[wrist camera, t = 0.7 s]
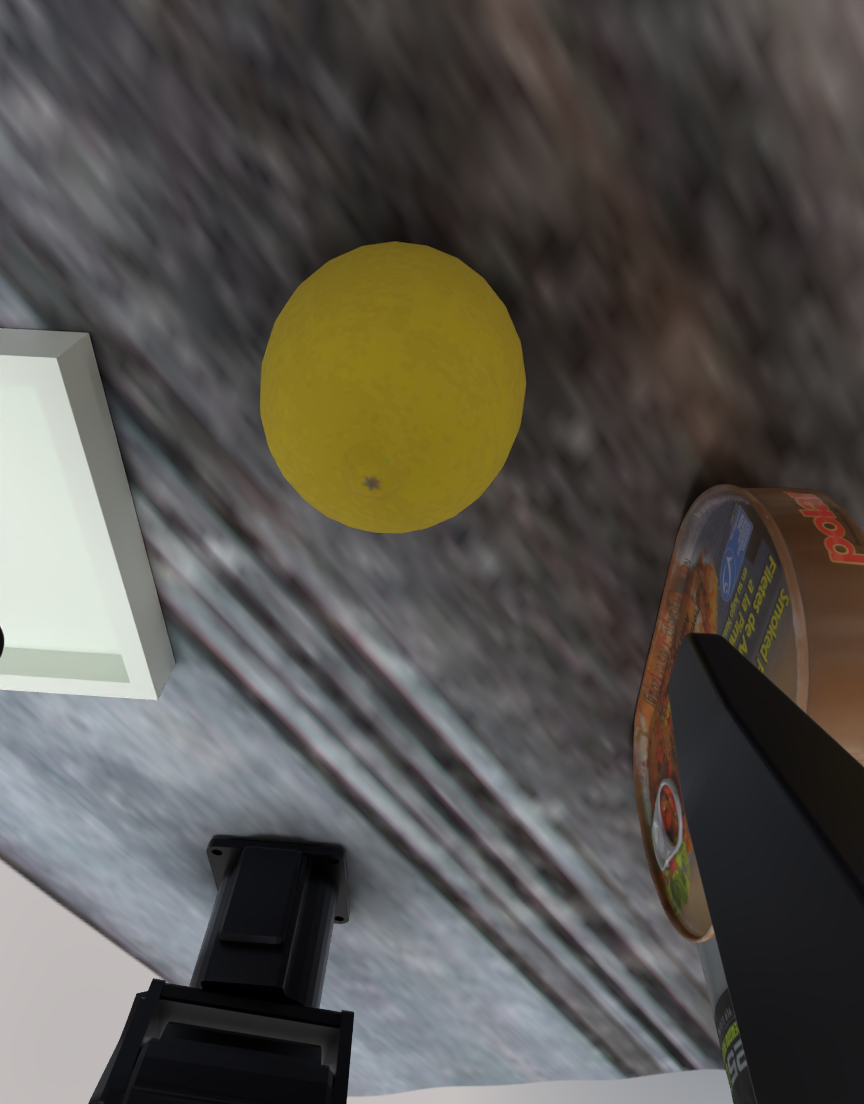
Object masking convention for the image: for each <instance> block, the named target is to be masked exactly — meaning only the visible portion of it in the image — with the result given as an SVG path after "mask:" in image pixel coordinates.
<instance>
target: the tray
mask: <svg viewBox="0 0 864 1104" xmlns="http://www.w3.org/2000/svg"><path fill="white" fill-rule="evenodd" d="M0 626H1V629H2V631H3V634H4V649H3V652H2V655H1V657H0V689H1V690H15V691H30V692H45V693H60V694H74V695H89V696H104V697H119V698H133V699H148V700H158V699H159V697H160V695H161V692H162V690H163V688H164V686H165V684H166V682H167V680H168V678H169V676H170V674H171V672H172V670H173V668H174V666H175V660H174V656H173V652H172V648H171V645H170V641H169V637H168V633H167V629H166V625H165V622H164V618H163V614H162V610H161V606H160V603H159V599H158V595H157V591H156V587H155V584H154V580H153V576H152V572H151V568H150V565H149V561H148V557H147V553H146V549H145V545H144V542H143V538H142V534H141V530H140V526H139V523H138V519H137V515H136V511H135V507H134V504H133V500H132V496H131V492H130V488H129V485H128V481H127V477H126V473H125V469H124V465H123V462H122V458H121V454H120V450H119V446H118V443H117V439H116V435H115V431H114V427H113V424H112V420H111V416H110V412H109V408H108V404H107V401H106V397H105V393H104V389H103V385H102V382H101V378H100V374H99V370H98V366H97V363H96V359H95V355H94V351H93V347H92V344H91V340H90V336H89V333H84V332H65V331H46V330H27V329H8V328H0Z"/></svg>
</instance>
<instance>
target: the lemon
mask: <svg viewBox="0 0 864 1104" xmlns="http://www.w3.org/2000/svg"><path fill="white" fill-rule="evenodd" d="M525 390H526V375H525V368H524V361H523V354H522V347H521V342H520V339H519V337H518V334H517V332H516V330H515V327H514V325H513V323H512V320H511V318H510V316H509V313H508V311H507V309H506V306H505V305H504V304H503V302H502V301H501V300H500V299H499V297H498V296H497V295H496V293H495V292H494V291H493V289H492V288H491V287H490V286H489V284H488V283H487V282H486V280H485V279H484V278H483V277H482V276H480V275H479V274H478V273H476V272H475V271H474V270H472V269H471V268H470V267H469V266H467V265H466V264H465V263H463V262H462V261H461V260H459V259H458V258H456V257H454V256H451V255H449V254H446V253H444V252H441V251H439V250H437V249H434V248H432V247H429V246H426V245H418V244H411V243H404V242H396V241H394V242H387V243H380V244H372V245H365V246H361V247H359V248H356V249H354V250H352V251H350V252H347V253H345V254H343V255H341V256H338V257H336V258H334V259H331V260H329V261H328V262H327V263H325V264H324V265H323V266H322V267H321V268H319V269H318V270H317V271H316V272H315V273H313V274H312V275H311V276H310V277H308V278H307V279H306V280H305V281H304V282H302V283H301V284H300V285H299V286H298V288H297V289H296V290H295V292H294V293H293V295H292V296H291V298H290V299H289V301H288V302H287V304H286V305H285V307H284V308H283V310H282V311H281V313H280V314H279V315H278V317H277V319H276V321H275V323H274V326H273V329H272V332H271V335H270V339H269V342H268V345H267V348H266V351H265V355H264V358H263V361H262V367H261V391H260V412H261V419H262V423H263V427H264V431H265V435H266V439H267V444H268V447H269V449H270V452H271V454H272V456H273V458H274V459H275V461H276V463H277V465H278V467H279V469H280V471H281V472H282V474H283V476H284V477H285V478H286V480H287V481H288V482H289V483H290V484H291V485H292V487H293V488H294V489H295V490H296V491H297V492H298V493H299V495H300V496H301V497H302V498H303V499H304V500H305V501H306V502H308V503H309V504H310V505H312V506H313V507H314V508H316V509H317V510H318V511H320V512H321V513H322V514H324V515H325V516H327V517H329V518H331V519H333V520H336V521H338V522H340V523H342V524H345V525H347V526H349V527H352V528H357V529H361V530H365V531H370V532H374V533H405V532H410V531H416V530H421V529H426V528H429V527H431V526H434V525H436V524H438V523H440V522H443V521H445V520H447V519H450V518H452V517H454V516H456V515H457V514H458V513H460V512H461V511H462V510H464V509H465V508H466V507H468V506H469V505H470V504H472V503H473V502H474V501H476V500H477V499H478V498H479V497H480V496H481V495H482V494H483V493H484V491H485V490H486V489H487V487H488V486H489V485H490V484H491V482H492V481H493V480H494V479H495V477H496V476H497V475H498V473H499V472H500V470H501V469H502V467H503V466H504V464H505V461H506V459H507V457H508V455H509V452H510V450H511V448H512V445H513V443H514V441H515V438H516V436H517V433H518V431H519V428H520V425H521V419H522V412H523V405H524V398H525Z"/></svg>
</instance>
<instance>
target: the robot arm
mask: <svg viewBox="0 0 864 1104" xmlns="http://www.w3.org/2000/svg"><path fill="white" fill-rule="evenodd" d="M3 649H4V634H3V631H2V629H1V626H0V657H1V655H2V652H3ZM669 702H670V709H671V717H672V725H673V733H674V741H675V749H676V757H677V765H678V773H679V781H680V788H681V795H682V802H683V807H684V812H685V817H686V821H687V826H688V830H689V834H690V838H691V842H692V846H693V850H694V854H695V858H696V862H697V866H698V870H699V874H700V878H701V882H702V886H703V890H704V894H705V898H706V902H707V906H708V910H709V914H710V918H711V922H712V926H713V930H714V934H715V938H716V942H717V946H718V950H719V954H720V958H721V962H722V966H723V970H724V974H725V978H726V982H727V986H728V990H729V994H730V998H731V1002H732V1006H733V1010H734V1014H735V1018H736V1022H737V1026H738V1030H739V1034H740V1038H741V1043H742V1047H743V1051H744V1055H745V1059H746V1063H747V1067H748V1071H749V1075H750V1079H751V1083H752V1087H753V1091H754V1095H755V1099H756V1103H757V1104H864V766H863V765H862V764H861V763H859V762H858V761H857V760H856V759H855V758H854V757H853V756H852V755H851V754H850V753H849V752H848V751H846V750H845V749H844V748H843V747H842V746H841V745H840V744H839V743H838V742H837V741H836V740H835V739H833V738H832V737H831V736H830V735H829V734H828V733H827V732H826V731H825V730H824V729H823V728H822V727H821V726H819V725H818V724H817V723H816V722H815V721H814V720H813V719H812V718H811V717H810V716H809V715H808V714H806V713H805V712H804V711H803V710H802V709H801V708H800V707H799V706H798V705H797V704H796V703H795V702H793V701H792V700H791V699H790V698H789V697H788V696H787V695H786V694H785V693H784V692H783V691H782V690H780V689H779V688H778V687H777V686H776V685H775V684H774V683H773V682H772V681H771V680H770V679H769V678H767V677H766V676H765V675H764V674H763V673H762V672H761V671H760V670H759V669H758V668H757V667H756V666H754V665H753V664H752V663H751V662H750V661H749V660H748V659H747V658H746V657H745V656H744V655H743V654H741V653H740V652H739V651H738V650H737V649H736V648H735V647H734V646H733V645H732V644H731V643H730V642H729V641H727V640H726V639H725V638H724V637H723V636H721V635H719V634H713V633H697V632H690V633H688V634H686V635H685V637H684V638H683V640H682V642H681V645H680V648H679V651H678V654H677V657H676V660H675V663H674V666H673V669H672V672H671V675H670V680H669ZM207 855H208V858H209V862H210V865H211V868H212V872H213V875H214V879H215V882H216V886H217V889H218V894H217V897H216V901H215V904H214V907H213V910H212V914H211V917H210V920H209V923H208V927H207V930H206V933H205V937H204V940H203V943H202V946H201V950H200V953H199V956H198V959H197V963H196V966H195V969H194V972H193V976H192V979H191V982H190V985H189V987H187V986H181V985H175V984H169V983H166V980H160V979H154V978H153V980H152V982H151V985H150V987H149V990H148V991H146V992H141V993H137V994H136V997H135V999H134V1002H133V1005H132V1008H131V1011H130V1013H129V1016H128V1019H127V1022H126V1024H125V1027H124V1030H123V1032H122V1035H121V1037H120V1040H119V1042H118V1044H117V1046H116V1048H115V1050H114V1052H113V1054H112V1056H111V1058H110V1060H109V1062H108V1064H107V1067H106V1068H105V1070H104V1073H103V1074H102V1077H101V1079H100V1081H99V1083H98V1085H97V1087H96V1089H95V1091H94V1093H93V1095H92V1097H91V1099H90V1101H89V1104H346V1101H347V1090H348V1079H349V1067H350V1056H351V1044H352V1032H353V1021H354V1012H352V1011H346V1010H342V1011H341V1012H337V1011H331V1010H325V1009H319V1007H320V1001H321V995H322V989H323V983H324V977H325V971H326V965H327V960H328V954H329V948H330V942H331V936H332V930H333V924H334V923H339V924H343V923H347V922H348V920H349V915H350V905H349V892H348V879H347V866H346V854H345V851H343V850H342V849H340V848H336V847H325V846H311V845H298V844H284V843H270V842H257V841H243V840H230V839H212V840H211V841H210V842H209V844H208V847H207Z"/></svg>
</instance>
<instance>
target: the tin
mask: <svg viewBox="0 0 864 1104" xmlns="http://www.w3.org/2000/svg"><path fill="white" fill-rule="evenodd" d="M690 632H697V633H713V634H719V635H721V636H723V637H724V638H725V639H726V640H727V641H729V642H730V643H731V644H732V645H733V646H734V647H735V648H736V649H737V650H738V651H739V652H740V653H741V654H743V655H744V656H745V657H746V658H747V659H748V660H749V661H750V662H751V663H752V664H753V665H754V666H756V667H757V668H758V669H759V670H760V671H761V672H762V673H763V674H764V675H765V676H766V677H767V678H769V679H770V680H771V681H772V682H773V683H774V684H775V685H776V686H777V687H778V688H779V689H780V690H782V691H783V692H784V693H785V694H786V695H787V696H788V697H789V698H790V699H791V700H792V701H793V702H795V703H796V704H797V705H798V706H799V707H800V708H801V709H802V710H803V711H804V712H805V713H806V714H808V715H809V716H810V717H811V718H812V719H813V720H814V721H815V722H816V723H817V724H818V725H819V726H821V727H822V728H823V729H824V730H825V731H826V732H827V733H828V734H829V735H830V736H831V737H832V738H833V739H835V740H836V741H837V742H838V743H839V744H840V745H841V746H842V747H843V748H844V749H845V750H846V751H848V752H849V753H850V754H851V755H852V756H853V757H854V758H855V759H856V760H857V761H858V762H859V763H861V764H862V765H863V766H864V533H863V532H862V530H861V529H860V528H859V526H858V525H857V524H856V523H855V521H854V520H853V519H852V517H851V516H850V515H849V514H848V513H847V512H846V511H845V510H844V509H843V508H842V507H841V506H839V505H838V504H837V503H836V502H835V501H833V500H832V499H831V498H829V497H828V496H827V495H825V494H823V493H821V492H819V491H815V490H809V489H797V488H741V487H739V486H735V485H731V484H720V485H716V486H713V487H711V488H709V489H707V490H706V491H705V492H703V493H702V494H701V495H700V496H699V497H697V498H696V500H695V501H694V502H693V504H692V505H691V507H690V508H689V510H688V512H687V513H686V515H685V517H684V520H683V522H682V524H681V526H680V530H679V532H678V535H677V538H676V542H675V546H674V550H673V553H672V557H671V561H670V566H669V570H668V574H667V579H666V583H665V587H664V592H663V597H662V600H661V604H660V609H659V613H658V617H657V622H656V626H655V630H654V635H653V639H652V643H651V648H650V652H649V655H648V659H647V663H646V668H645V672H644V676H643V681H642V685H641V689H640V693H639V697H638V702H637V707H636V713H635V720H634V740H633V771H634V782H635V792H636V802H637V809H638V816H639V821H640V826H641V833H642V839H643V844H644V849H645V853H646V858H647V861H648V864H649V869H650V873H651V877H652V879H653V882H654V884H655V888H656V890H657V893H658V896H659V899H660V901H661V904H662V906H663V909H664V911H665V913H666V915H667V916H668V918H669V920H670V921H671V923H672V925H673V926H674V928H675V929H676V930H677V932H678V933H679V934H681V935H682V936H683V937H684V938H685V939H687V940H689V941H691V942H694V943H697V942H704V941H706V940H708V939H712V938H715V934H714V930H713V926H712V922H711V918H710V914H709V910H708V906H707V902H706V898H705V894H704V890H703V886H702V882H701V878H700V874H699V870H698V866H697V862H696V858H695V854H694V850H693V846H692V842H691V838H690V834H689V830H688V826H687V821H686V817H685V812H684V807H683V802H682V795H681V788H680V781H679V773H678V765H677V757H676V749H675V741H674V733H673V725H672V717H671V709H670V702H669V680H670V675H671V672H672V669H673V666H674V663H675V660H676V657H677V654H678V651H679V648H680V645H681V642H682V640H683V638H684V637H685V635H686V634H688V633H690Z"/></svg>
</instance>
